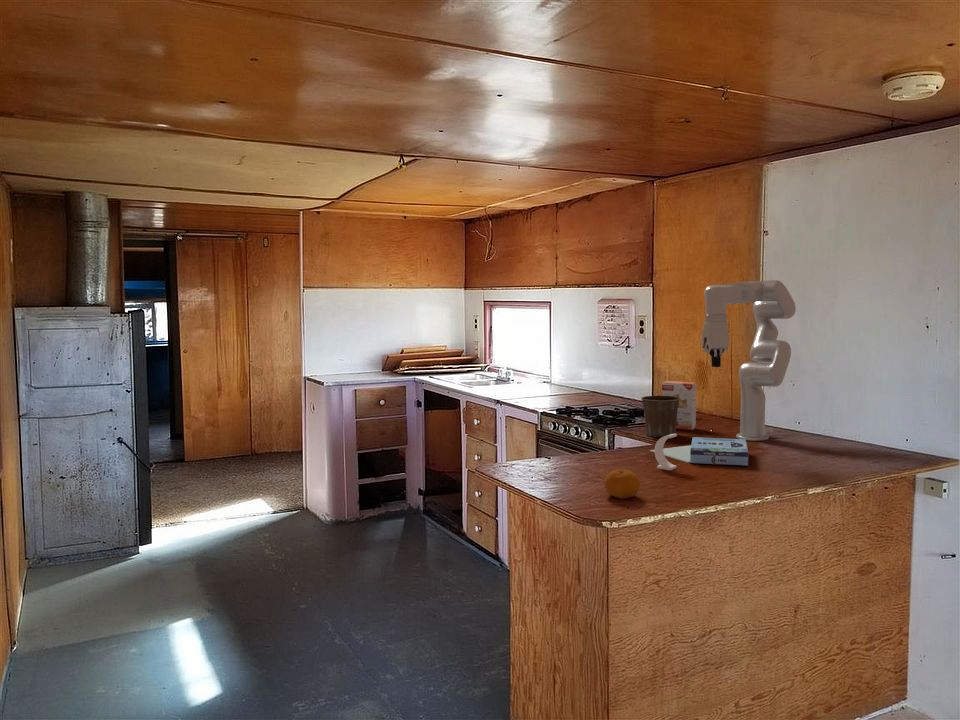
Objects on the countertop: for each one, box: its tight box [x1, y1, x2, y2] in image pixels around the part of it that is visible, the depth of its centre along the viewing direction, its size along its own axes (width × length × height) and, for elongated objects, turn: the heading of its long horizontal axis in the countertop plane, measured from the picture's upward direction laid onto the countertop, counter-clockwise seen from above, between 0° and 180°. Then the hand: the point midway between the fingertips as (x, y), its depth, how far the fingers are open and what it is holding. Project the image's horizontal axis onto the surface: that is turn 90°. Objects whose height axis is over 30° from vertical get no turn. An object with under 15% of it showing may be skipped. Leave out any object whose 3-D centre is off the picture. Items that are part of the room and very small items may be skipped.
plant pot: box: [640, 395, 680, 438], centre depth 305 cm, size 16×16×16 cm
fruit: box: [604, 468, 641, 500], centre depth 214 cm, size 10×10×8 cm
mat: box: [649, 444, 691, 464], centre depth 269 cm, size 20×22×1 cm
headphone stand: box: [654, 433, 678, 471], centre depth 248 cm, size 5×6×12 cm
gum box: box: [689, 436, 749, 467], centre depth 261 cm, size 20×5×23 cm
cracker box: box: [661, 380, 697, 431], centre depth 320 cm, size 14×6×21 cm, turn 55°
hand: (716, 366), depth 275 cm, fingers closed
